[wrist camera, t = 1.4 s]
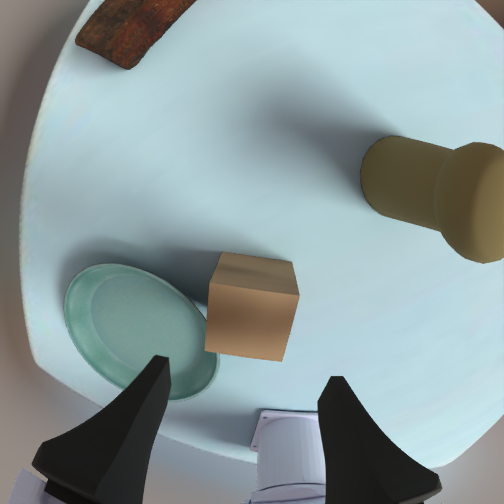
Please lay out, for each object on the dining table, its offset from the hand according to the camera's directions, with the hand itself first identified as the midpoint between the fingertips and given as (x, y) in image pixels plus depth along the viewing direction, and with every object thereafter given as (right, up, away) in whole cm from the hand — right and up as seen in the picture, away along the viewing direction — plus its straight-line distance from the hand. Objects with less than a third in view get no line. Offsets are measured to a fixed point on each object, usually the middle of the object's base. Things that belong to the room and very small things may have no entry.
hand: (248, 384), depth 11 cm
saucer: (-10, -1, +12) cm, 15 cm away
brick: (-7, +24, +3) cm, 25 cm away
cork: (+11, +11, +6) cm, 16 cm away
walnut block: (0, +3, +9) cm, 10 cm away
